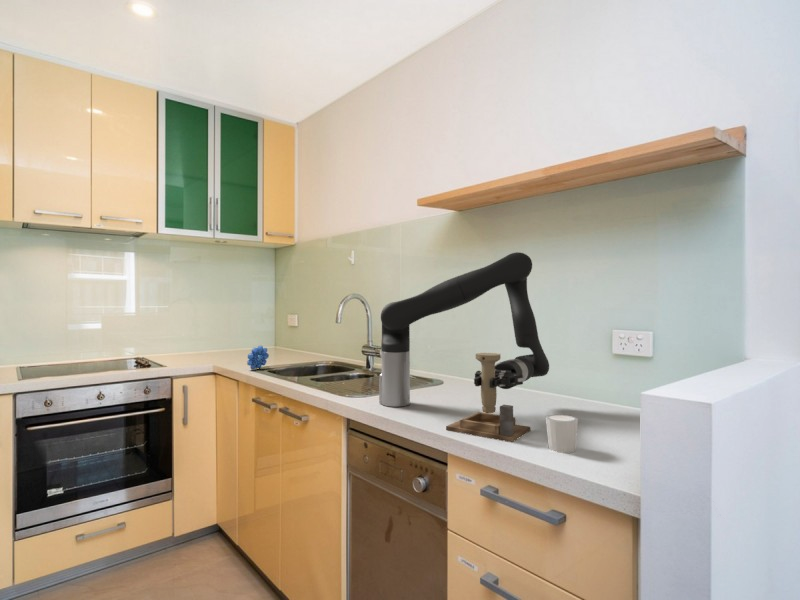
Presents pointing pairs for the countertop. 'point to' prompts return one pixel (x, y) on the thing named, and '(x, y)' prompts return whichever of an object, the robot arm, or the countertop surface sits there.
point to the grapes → (257, 357)
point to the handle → (488, 380)
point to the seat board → (491, 425)
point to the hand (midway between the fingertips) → (483, 382)
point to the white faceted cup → (562, 432)
